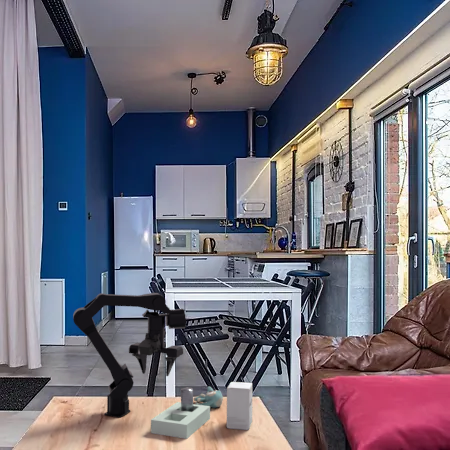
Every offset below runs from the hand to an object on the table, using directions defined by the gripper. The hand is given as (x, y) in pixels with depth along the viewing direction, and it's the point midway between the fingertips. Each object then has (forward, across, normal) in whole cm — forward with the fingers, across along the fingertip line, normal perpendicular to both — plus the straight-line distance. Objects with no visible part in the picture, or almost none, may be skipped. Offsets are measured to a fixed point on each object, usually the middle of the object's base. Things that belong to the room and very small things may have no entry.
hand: (155, 374), depth 168 cm
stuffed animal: (+12, +15, +12) cm, 23 cm away
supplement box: (+12, +32, -3) cm, 34 cm away
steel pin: (+11, +15, -6) cm, 19 cm away
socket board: (+12, +15, -10) cm, 22 cm away
